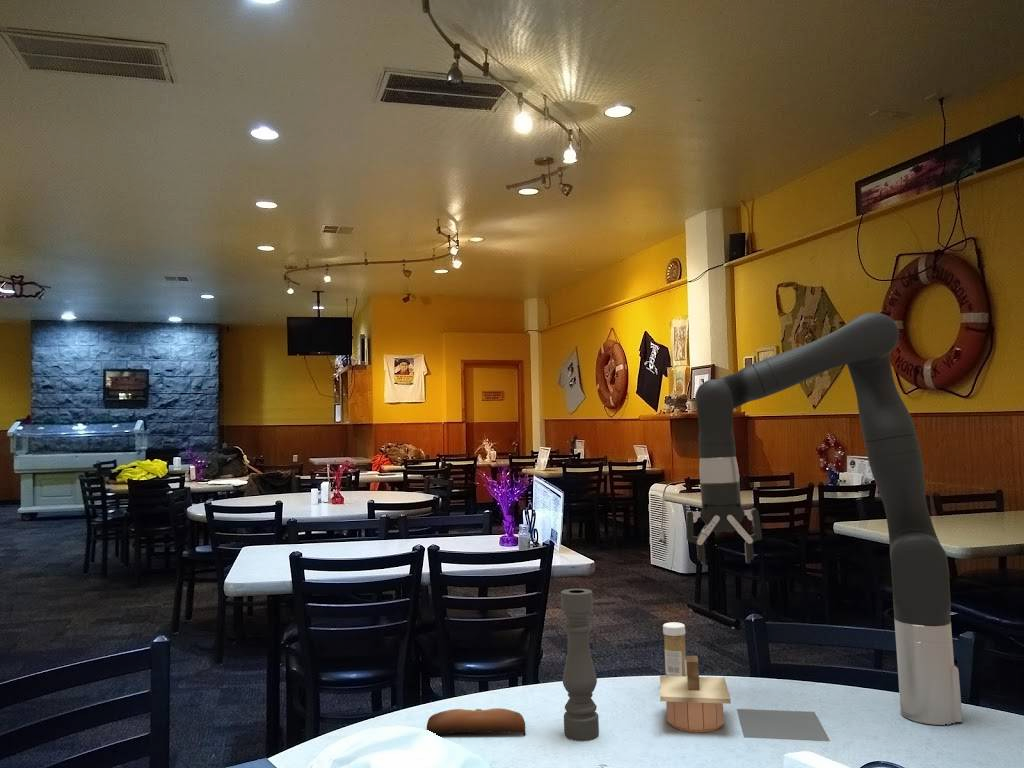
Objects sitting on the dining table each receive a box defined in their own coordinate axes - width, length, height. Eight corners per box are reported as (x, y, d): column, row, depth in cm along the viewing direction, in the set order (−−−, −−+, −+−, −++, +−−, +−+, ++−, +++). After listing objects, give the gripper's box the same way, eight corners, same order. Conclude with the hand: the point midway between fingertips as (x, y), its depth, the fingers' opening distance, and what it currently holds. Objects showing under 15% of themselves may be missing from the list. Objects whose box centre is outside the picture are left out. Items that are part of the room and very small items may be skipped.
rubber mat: (814, 714, 141) (814, 711, 141) (830, 743, 127) (830, 741, 128) (736, 711, 144) (736, 708, 144) (744, 739, 130) (744, 737, 130)
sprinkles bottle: (692, 689, 157) (689, 623, 158) (680, 695, 154) (676, 627, 155) (673, 685, 160) (670, 620, 161) (661, 690, 157) (658, 624, 158)
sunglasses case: (527, 718, 143) (525, 693, 140) (527, 751, 137) (525, 725, 134) (432, 720, 144) (429, 695, 141) (428, 752, 137) (424, 727, 135)
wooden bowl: (721, 716, 142) (720, 683, 142) (725, 737, 132) (724, 701, 132) (667, 714, 144) (665, 681, 144) (667, 734, 134) (665, 699, 134)
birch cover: (724, 681, 143) (723, 650, 143) (730, 703, 131) (728, 669, 132) (660, 680, 145) (658, 649, 146) (660, 701, 133) (658, 667, 134)
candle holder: (603, 730, 136) (598, 589, 138) (592, 743, 131) (587, 595, 133) (571, 725, 139) (566, 587, 141) (559, 738, 133) (554, 593, 135)
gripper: (753, 477, 153) (760, 559, 151) (681, 481, 155) (687, 561, 153) (759, 479, 145) (766, 565, 144) (683, 482, 148) (689, 567, 146)
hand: (725, 563), depth 149 cm, fingers open, 8 cm apart
